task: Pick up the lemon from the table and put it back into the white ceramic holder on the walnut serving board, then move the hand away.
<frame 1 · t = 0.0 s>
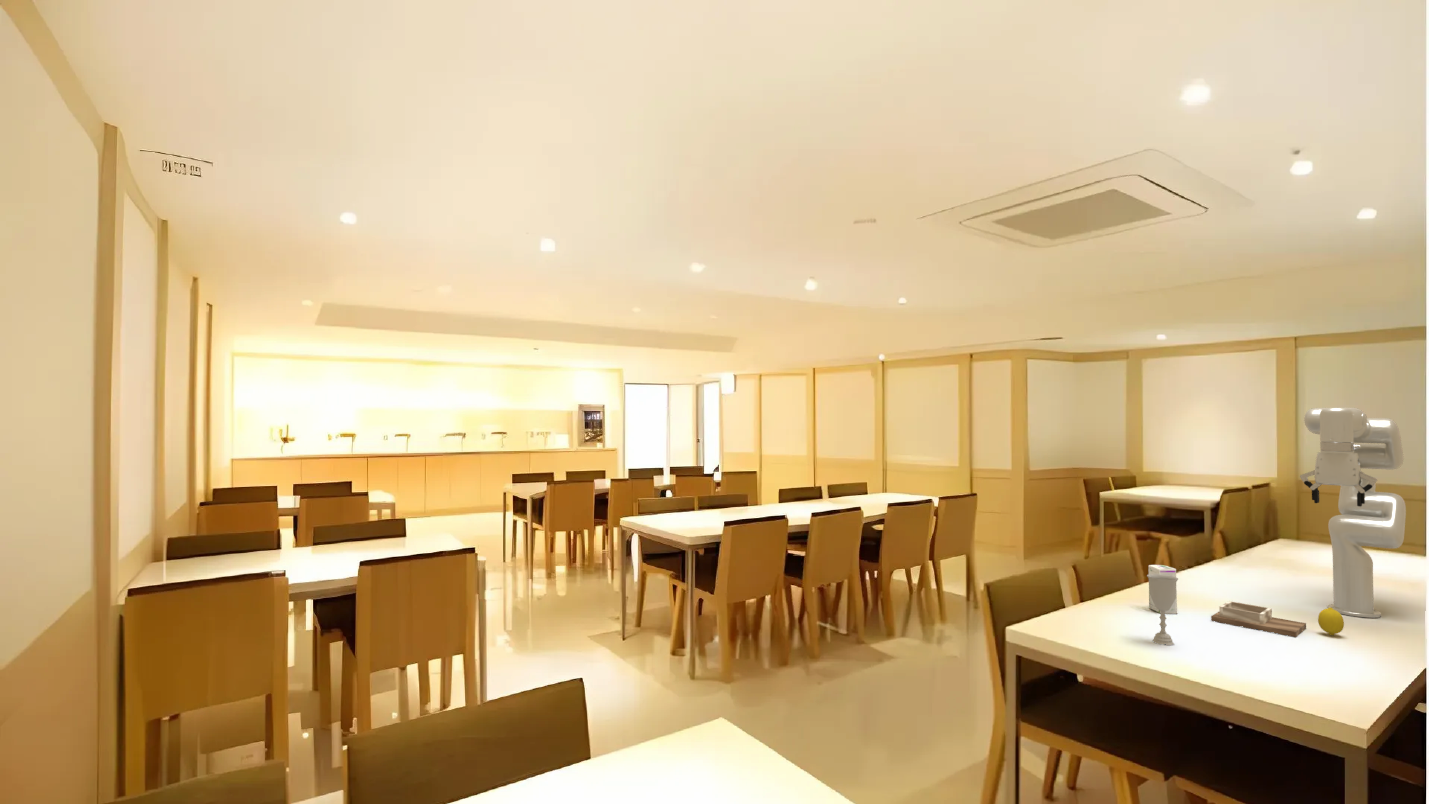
hand: (1337, 504, 204), 37 cm above the table, tool pointing down, fingers open, 9 cm apart
chalice: (1163, 643, 186), on the table
lemon: (1331, 636, 194), on the table
serving board: (1257, 624, 204), on the table
syrup box: (1162, 612, 217), on the table
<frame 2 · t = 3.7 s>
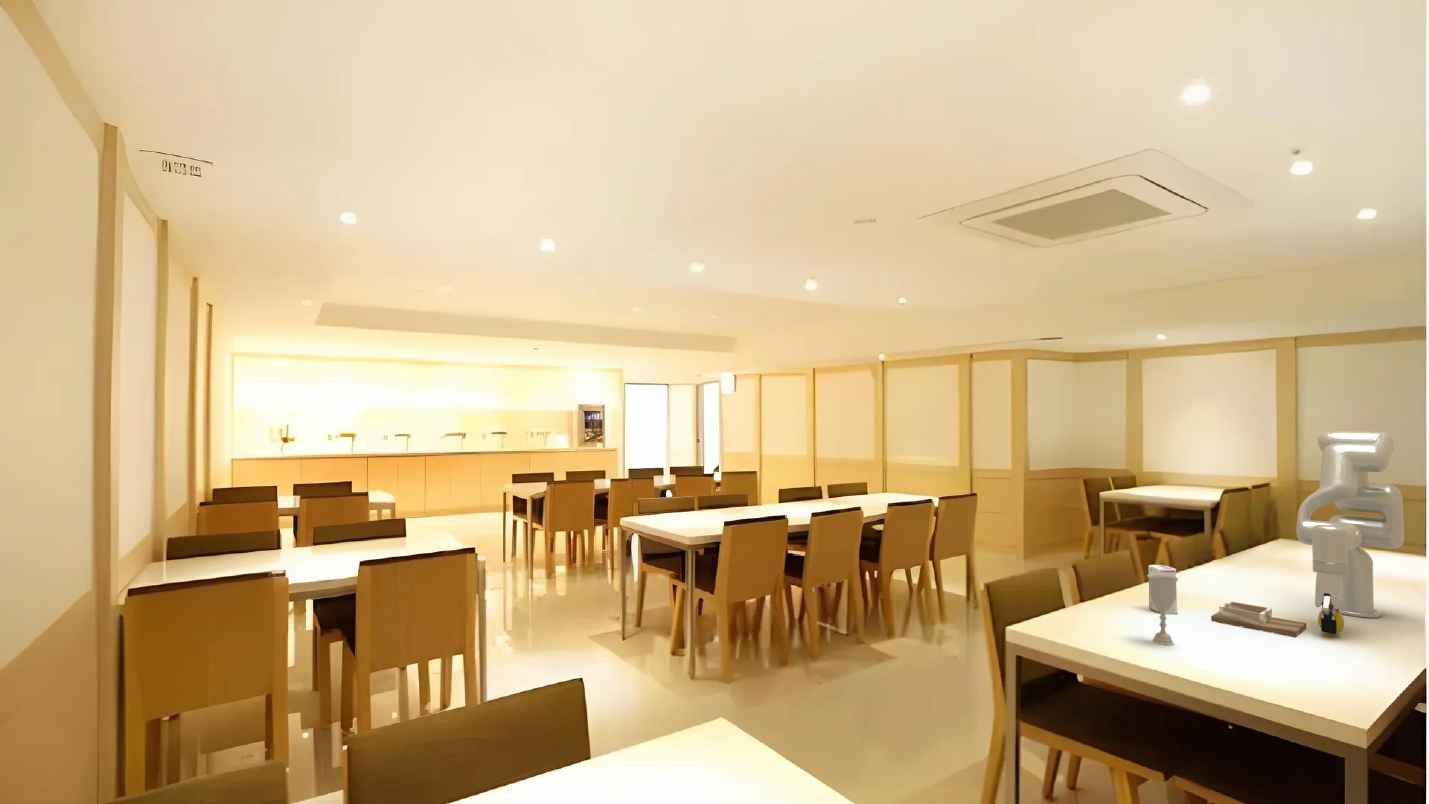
hand: (1331, 630, 194), 1 cm above the table, tool pointing down, fingers closed on lemon, 5 cm apart
lemon: (1331, 636, 194), on the table, touching gripper
everything else where it was.
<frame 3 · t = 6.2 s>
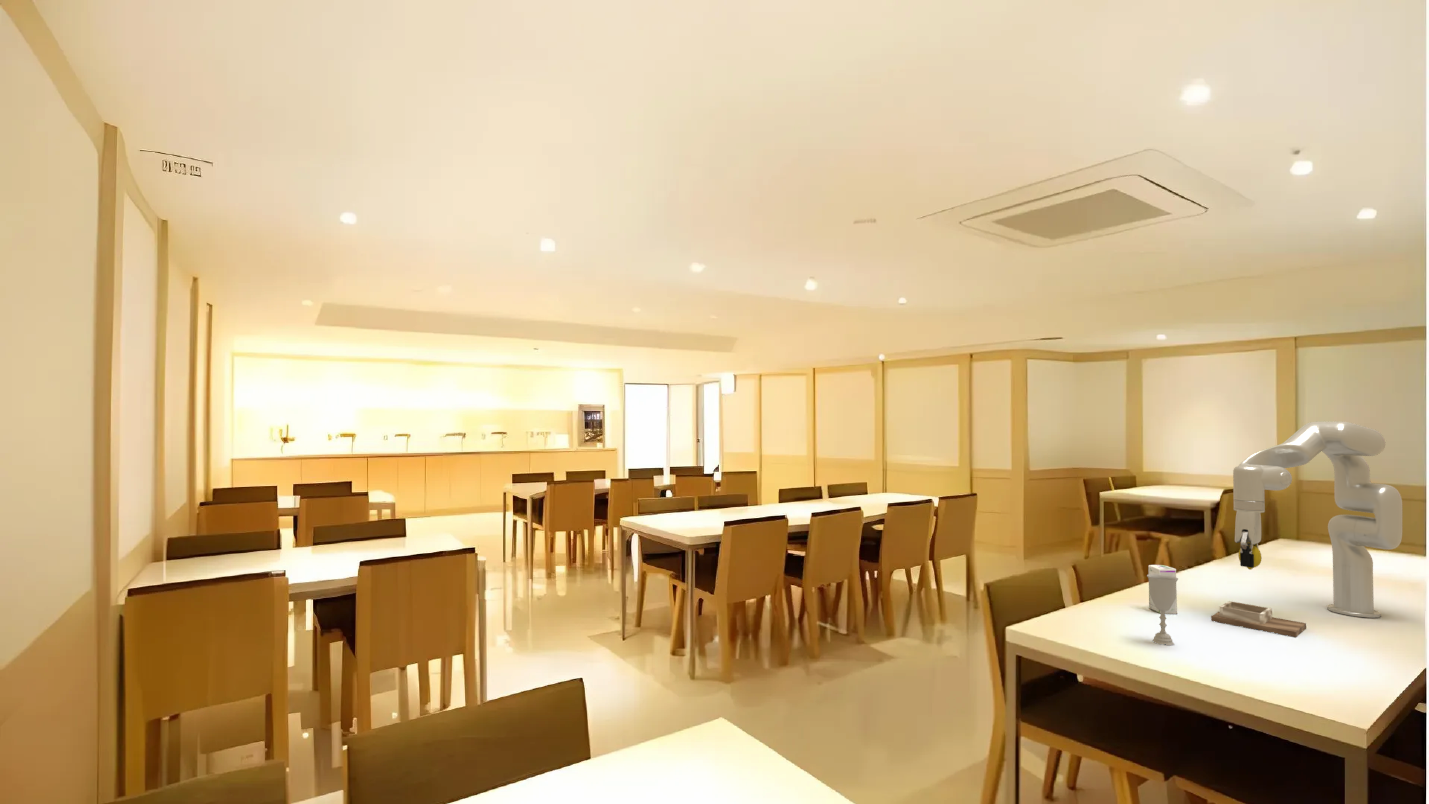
hand: (1249, 564, 206), 18 cm above the table, tool pointing down, fingers closed on lemon, 5 cm apart
lemon: (1250, 570, 206), point 16 cm above the table, touching gripper
everything else where it was.
when the fingers open (5 cm above the table, at t = 8.5 s): lemon drops 2 cm, resting on serving board.
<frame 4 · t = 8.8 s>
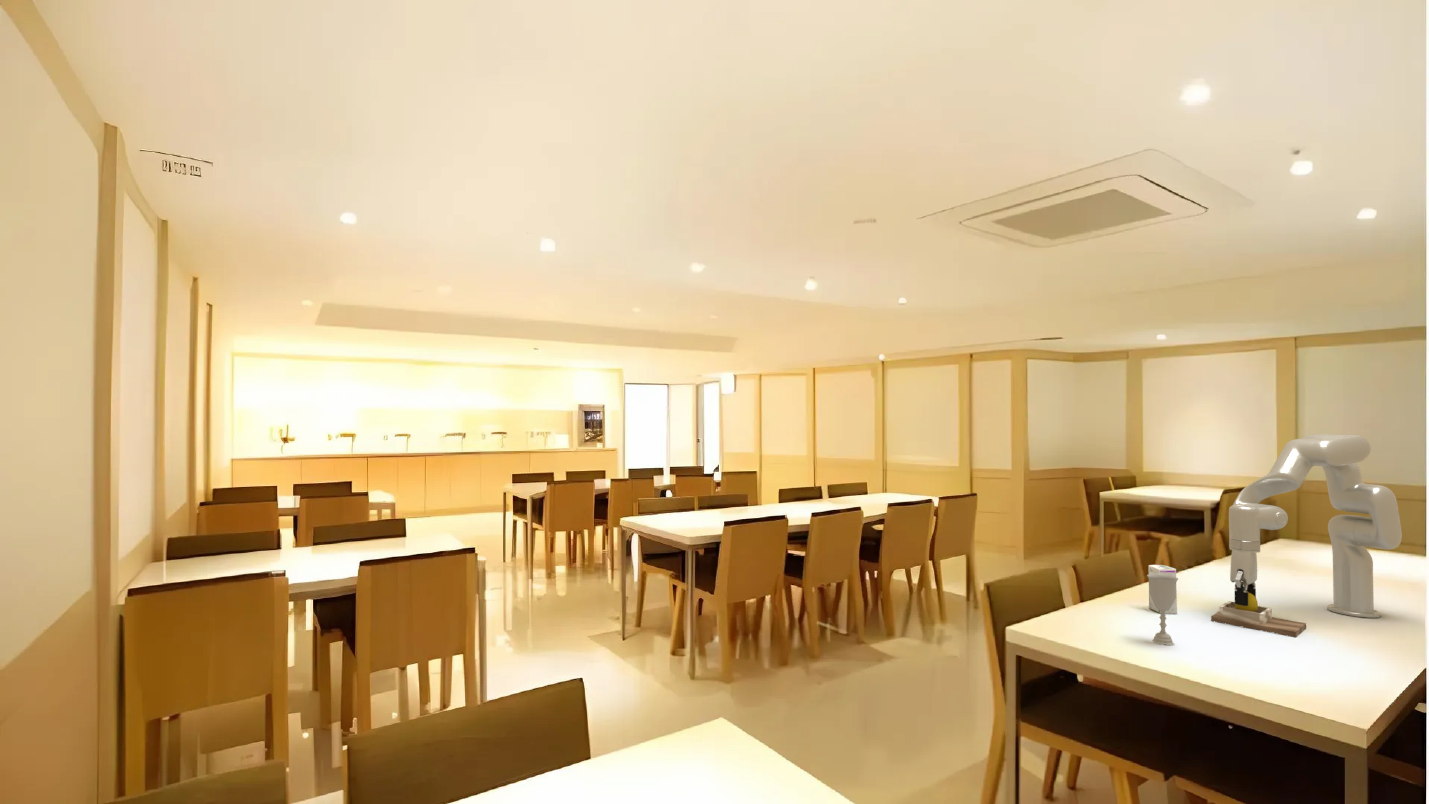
hand: (1245, 602, 206), 6 cm above the table, tool pointing down, fingers open, 8 cm apart
lemon: (1246, 617, 206), point 1 cm above the table, touching serving board
everything else where it was.
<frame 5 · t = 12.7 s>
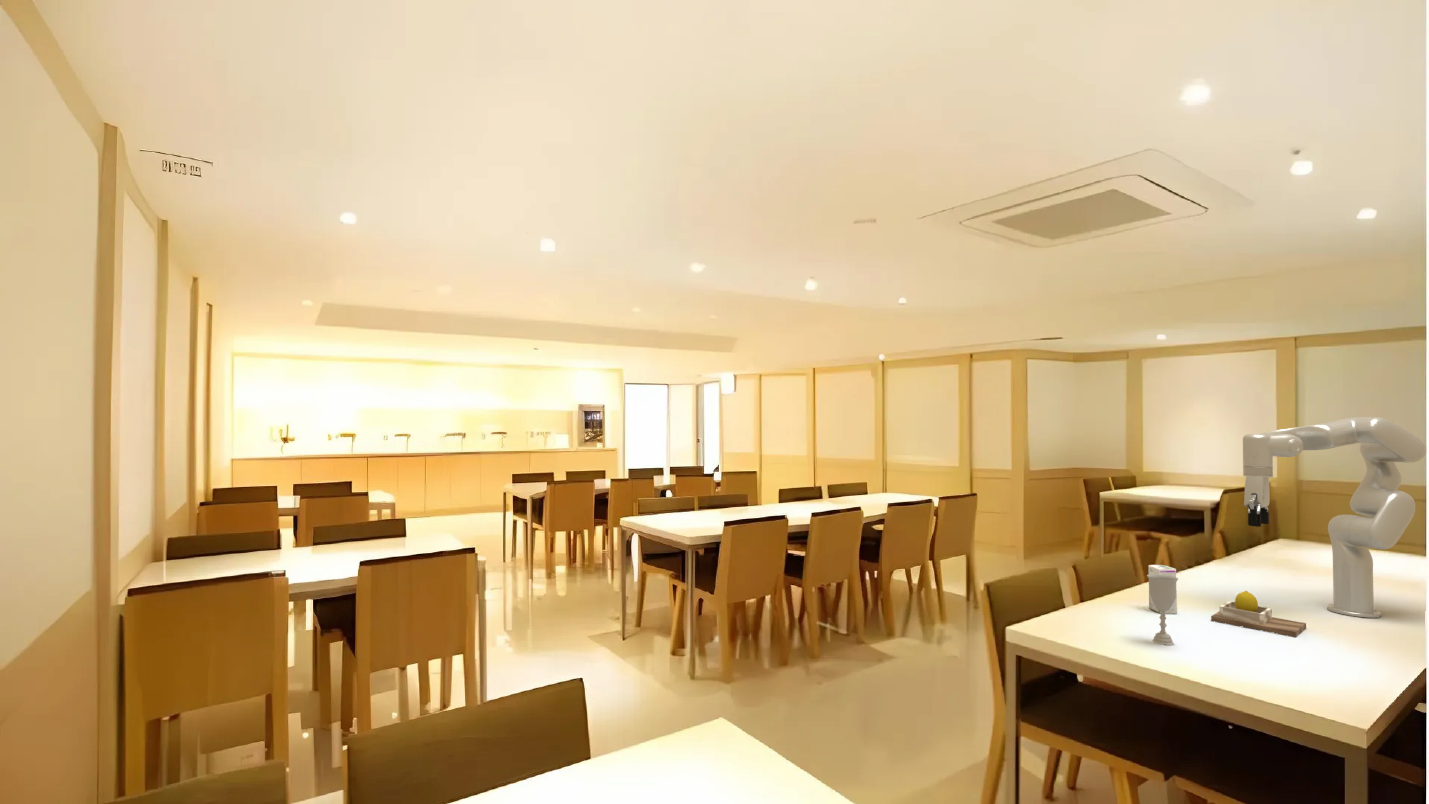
hand: (1258, 524, 218), 28 cm above the table, tool pointing down, fingers open, 9 cm apart
nothing on the table moved.
at the end: lemon inside the target area on the serving board (0.5 cm from its centre), point 1.3 cm above the serving board's base; the gripper is holding nothing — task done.
